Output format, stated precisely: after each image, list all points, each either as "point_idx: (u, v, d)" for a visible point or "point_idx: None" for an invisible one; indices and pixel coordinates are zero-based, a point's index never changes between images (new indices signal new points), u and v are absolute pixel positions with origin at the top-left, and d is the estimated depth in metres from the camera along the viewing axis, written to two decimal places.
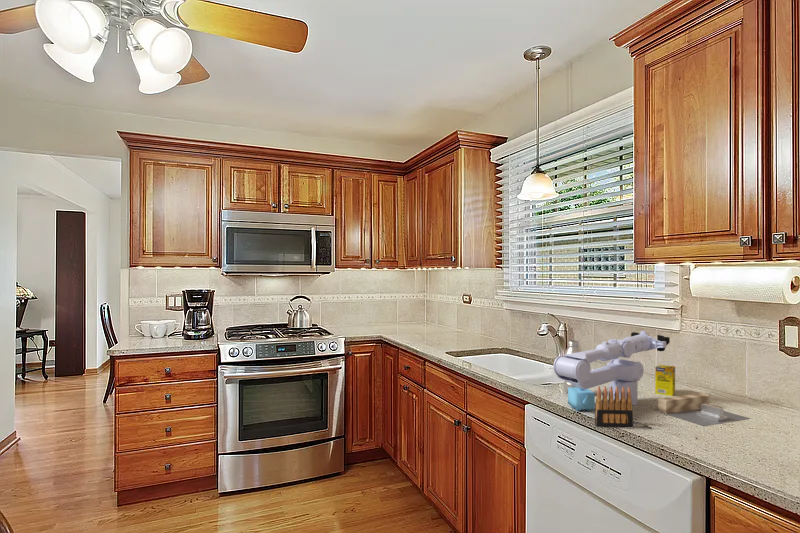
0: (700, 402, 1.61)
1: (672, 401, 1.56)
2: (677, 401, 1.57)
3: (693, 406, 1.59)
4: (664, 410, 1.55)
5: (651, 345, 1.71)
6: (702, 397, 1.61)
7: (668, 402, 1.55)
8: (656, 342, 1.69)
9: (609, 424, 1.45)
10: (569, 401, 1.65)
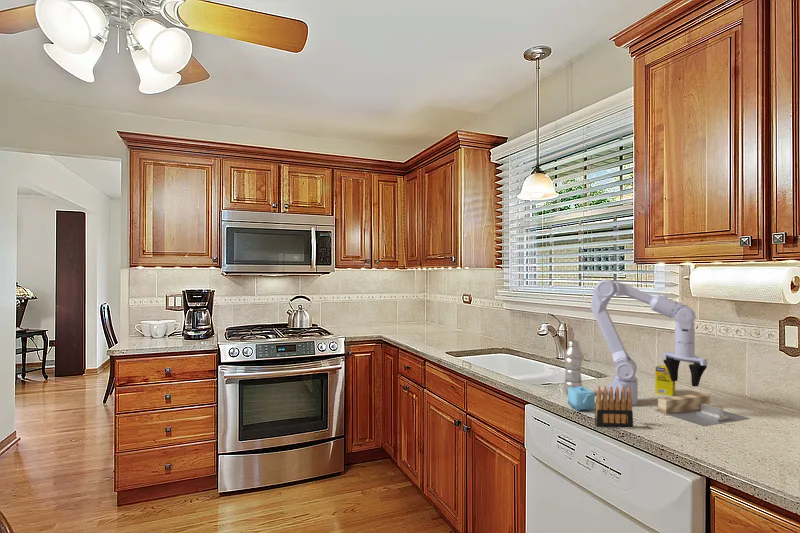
0: (700, 402, 1.61)
1: (672, 401, 1.56)
2: (677, 401, 1.57)
3: (693, 406, 1.59)
4: (664, 410, 1.55)
5: (691, 357, 1.57)
6: (702, 397, 1.61)
7: (668, 402, 1.55)
8: None
9: (609, 424, 1.45)
10: (569, 401, 1.65)
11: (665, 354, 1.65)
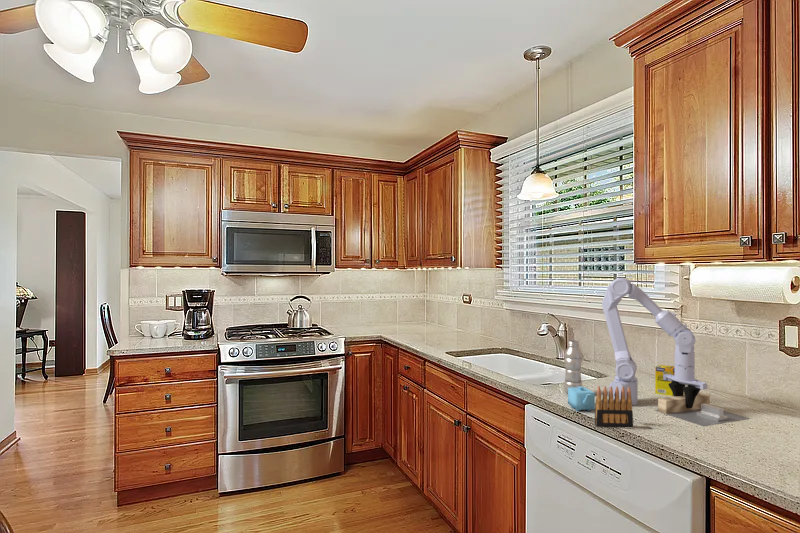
0: (700, 402, 1.61)
1: (672, 401, 1.56)
2: (677, 401, 1.57)
3: (693, 406, 1.59)
4: (664, 410, 1.55)
5: (691, 381, 1.57)
6: (702, 397, 1.61)
7: (668, 402, 1.55)
8: None
9: (609, 424, 1.45)
10: (569, 401, 1.65)
11: (665, 376, 1.65)
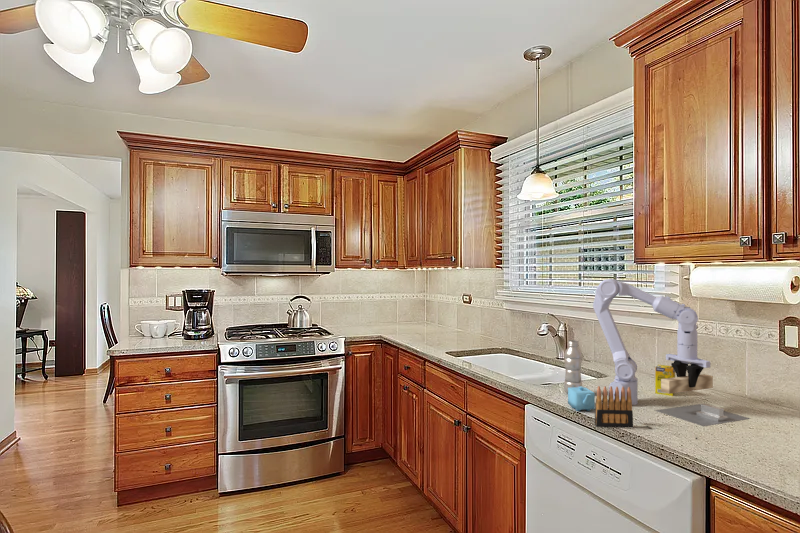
0: (703, 382, 1.60)
1: (675, 381, 1.55)
2: (680, 381, 1.56)
3: (696, 387, 1.59)
4: (667, 390, 1.54)
5: (694, 359, 1.56)
6: (705, 377, 1.60)
7: (671, 382, 1.54)
8: None
9: (609, 424, 1.45)
10: (569, 401, 1.65)
11: (667, 356, 1.65)
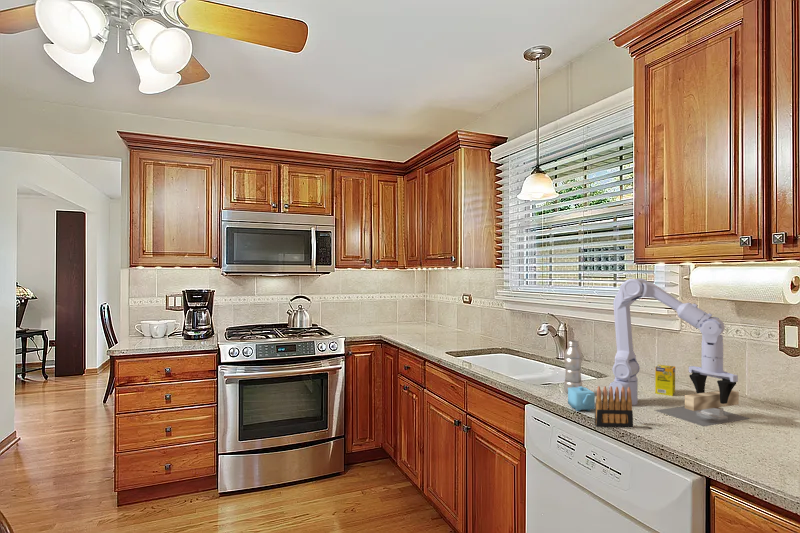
0: (728, 399, 1.52)
1: (699, 398, 1.47)
2: (705, 398, 1.48)
3: None
4: (692, 407, 1.47)
5: (719, 373, 1.48)
6: (731, 393, 1.52)
7: (696, 399, 1.46)
8: (728, 374, 1.47)
9: (609, 424, 1.45)
10: (569, 401, 1.65)
11: (691, 369, 1.57)
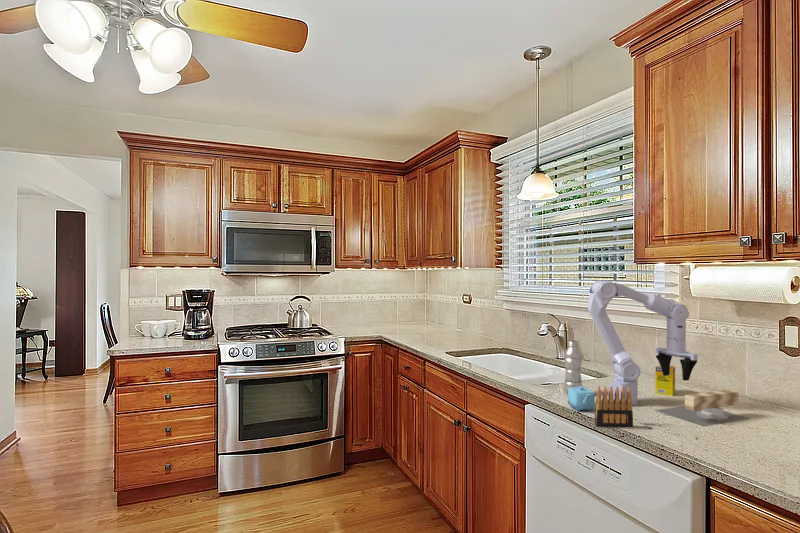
0: (728, 399, 1.52)
1: (699, 398, 1.47)
2: (705, 398, 1.48)
3: (722, 403, 1.51)
4: (692, 407, 1.47)
5: (682, 352, 1.63)
6: (731, 393, 1.52)
7: (696, 399, 1.46)
8: (689, 353, 1.62)
9: (609, 424, 1.45)
10: (569, 401, 1.65)
11: (657, 350, 1.72)
